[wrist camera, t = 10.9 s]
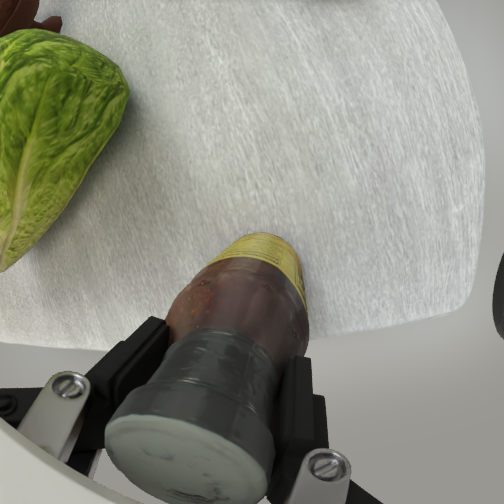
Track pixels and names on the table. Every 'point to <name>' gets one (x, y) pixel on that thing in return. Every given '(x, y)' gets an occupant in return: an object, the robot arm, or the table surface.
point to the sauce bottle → (217, 380)
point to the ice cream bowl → (24, 17)
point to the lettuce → (49, 129)
